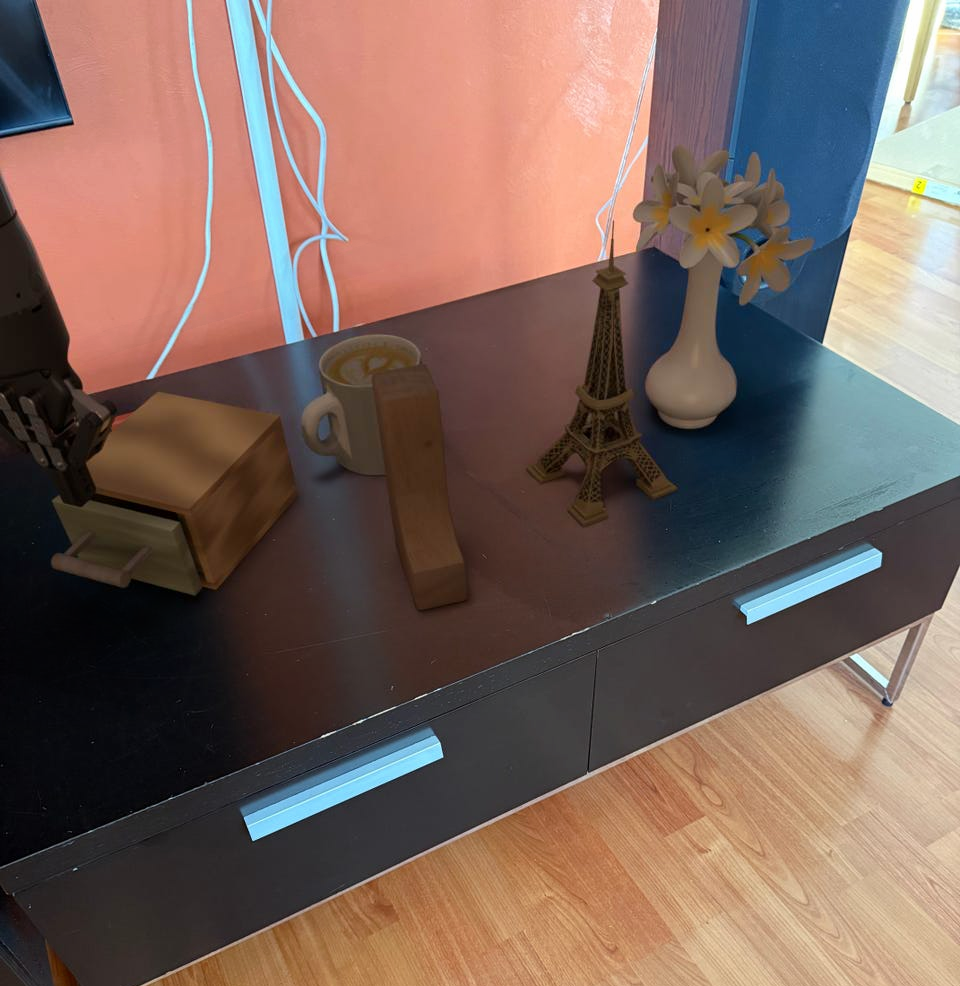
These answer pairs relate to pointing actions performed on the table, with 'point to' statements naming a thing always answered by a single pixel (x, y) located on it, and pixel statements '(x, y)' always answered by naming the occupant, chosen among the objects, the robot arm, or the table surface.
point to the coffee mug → (354, 399)
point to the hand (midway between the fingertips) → (80, 499)
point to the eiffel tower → (602, 413)
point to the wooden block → (419, 485)
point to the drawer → (128, 544)
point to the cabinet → (202, 473)
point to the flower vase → (711, 273)
